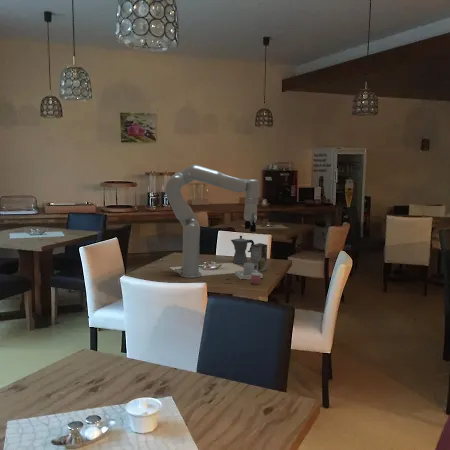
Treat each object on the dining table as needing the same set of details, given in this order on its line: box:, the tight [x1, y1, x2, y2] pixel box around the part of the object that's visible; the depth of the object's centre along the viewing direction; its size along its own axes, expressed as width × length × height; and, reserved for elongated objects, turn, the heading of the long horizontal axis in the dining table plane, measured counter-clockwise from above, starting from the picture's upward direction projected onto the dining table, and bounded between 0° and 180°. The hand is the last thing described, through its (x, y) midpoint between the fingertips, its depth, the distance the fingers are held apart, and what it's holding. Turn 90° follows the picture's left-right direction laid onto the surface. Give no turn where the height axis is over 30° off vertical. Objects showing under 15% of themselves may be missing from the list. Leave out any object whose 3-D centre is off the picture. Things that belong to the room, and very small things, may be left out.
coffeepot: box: [230, 235, 255, 265], centre depth 333 cm, size 15×9×18 cm, turn 82°
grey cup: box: [243, 261, 254, 275], centre depth 299 cm, size 6×6×7 cm
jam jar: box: [250, 272, 262, 284], centre depth 284 cm, size 5×5×6 cm
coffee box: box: [249, 242, 268, 273], centre depth 314 cm, size 9×6×16 cm
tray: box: [234, 269, 264, 280], centre depth 299 cm, size 13×12×2 cm
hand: (250, 230), depth 295 cm, fingers open, 9 cm apart
